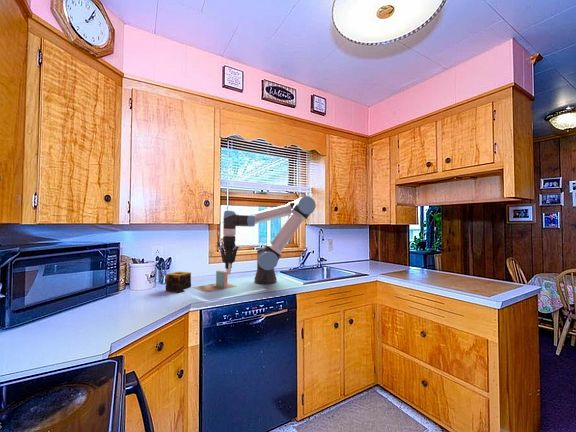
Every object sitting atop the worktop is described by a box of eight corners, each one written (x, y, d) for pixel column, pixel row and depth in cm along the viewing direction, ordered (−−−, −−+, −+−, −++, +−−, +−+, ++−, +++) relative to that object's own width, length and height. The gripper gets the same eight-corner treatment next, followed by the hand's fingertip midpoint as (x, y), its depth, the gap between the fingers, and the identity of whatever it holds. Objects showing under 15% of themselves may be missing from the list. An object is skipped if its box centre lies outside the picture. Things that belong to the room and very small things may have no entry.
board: (222, 283, 171) (222, 282, 171) (237, 288, 160) (237, 286, 160) (192, 289, 156) (192, 287, 156) (206, 294, 145) (206, 292, 145)
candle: (178, 293, 147) (178, 275, 147) (164, 291, 151) (165, 274, 151) (191, 289, 157) (191, 272, 157) (178, 287, 160) (178, 271, 161)
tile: (218, 285, 163) (219, 270, 163) (227, 287, 157) (227, 272, 157) (215, 285, 161) (216, 270, 161) (224, 288, 155) (224, 272, 155)
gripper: (234, 235, 171) (233, 271, 170) (216, 235, 161) (215, 274, 161) (241, 235, 166) (240, 273, 165) (223, 236, 156) (222, 276, 155)
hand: (228, 273), depth 163 cm, fingers closed
